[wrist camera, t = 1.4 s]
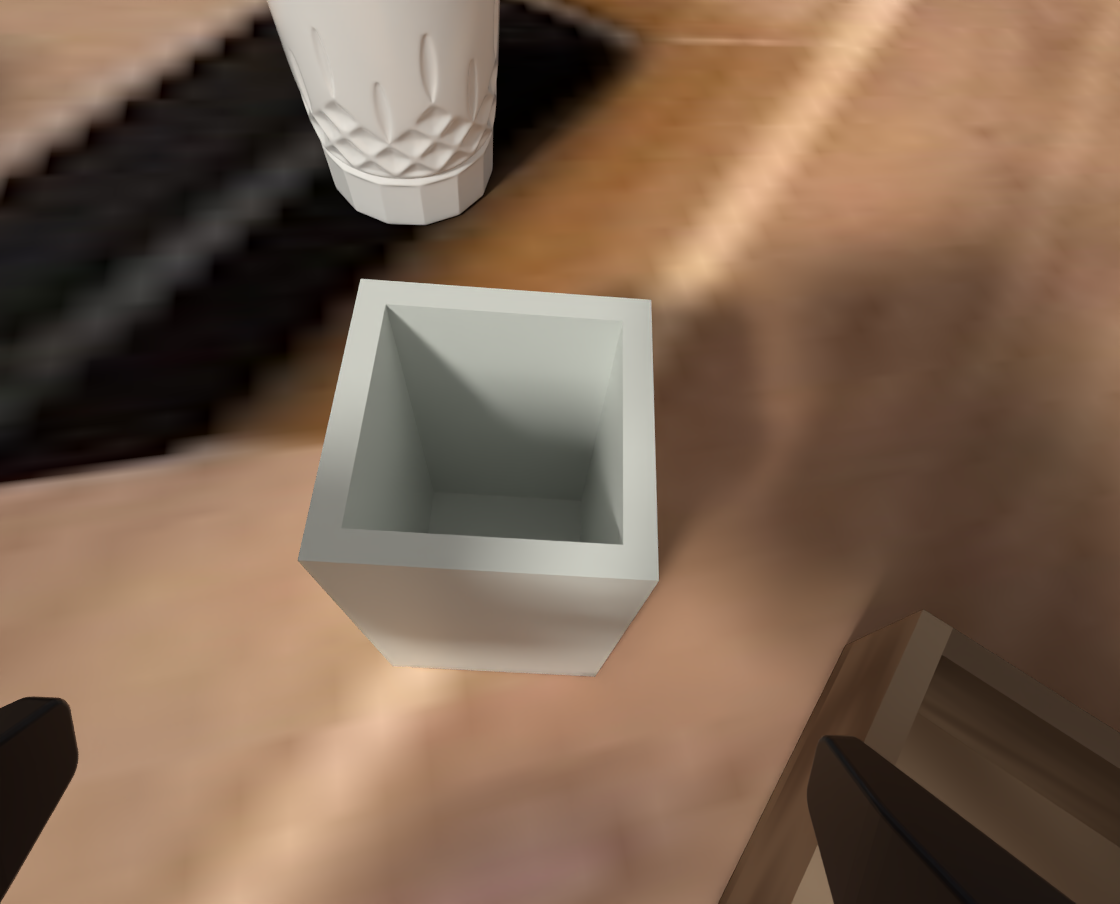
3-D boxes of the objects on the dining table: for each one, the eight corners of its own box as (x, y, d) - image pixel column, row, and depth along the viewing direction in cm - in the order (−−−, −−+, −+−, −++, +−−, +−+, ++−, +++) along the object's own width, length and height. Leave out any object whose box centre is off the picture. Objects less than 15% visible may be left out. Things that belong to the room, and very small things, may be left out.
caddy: (594, 676, 20) (658, 580, 11) (392, 665, 20) (297, 560, 11) (597, 492, 23) (651, 300, 14) (419, 481, 23) (361, 278, 14)
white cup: (507, 114, 32) (505, -155, 23) (503, 242, 28) (498, -18, 19) (333, 106, 31) (262, -172, 22) (307, 235, 27) (208, -35, 19)
